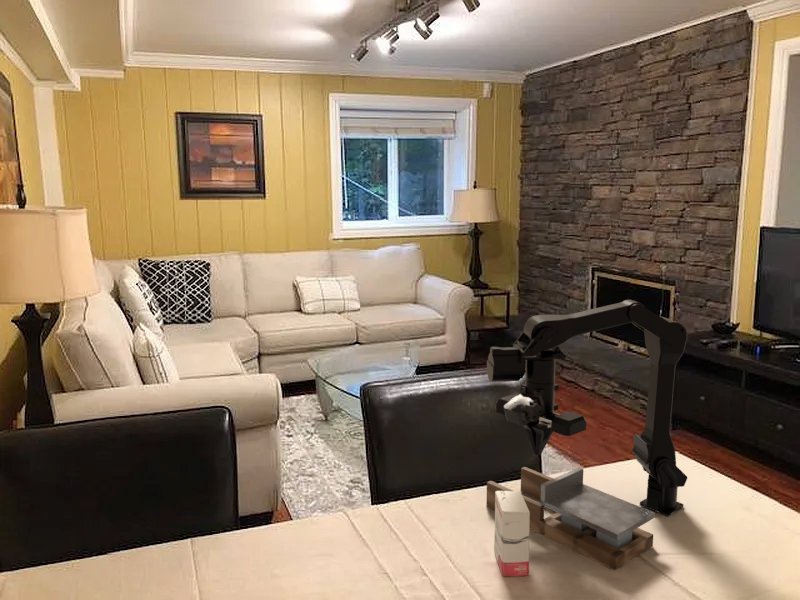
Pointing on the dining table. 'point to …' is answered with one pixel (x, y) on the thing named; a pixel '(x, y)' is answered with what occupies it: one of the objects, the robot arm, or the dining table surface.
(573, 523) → the pale blue studded block
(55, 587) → the dining table surface
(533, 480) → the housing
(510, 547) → the ink box
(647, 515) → the lid
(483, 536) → the dining table surface
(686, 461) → the dining table surface
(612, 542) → the domed grey cube
